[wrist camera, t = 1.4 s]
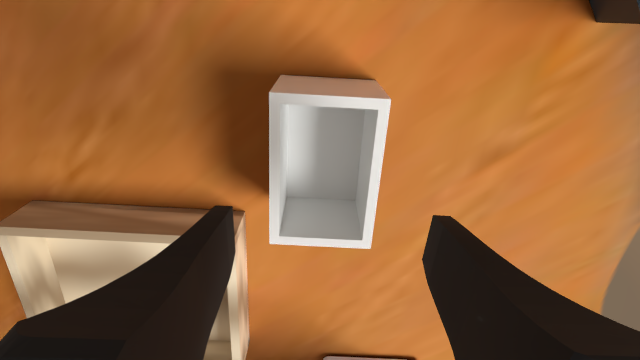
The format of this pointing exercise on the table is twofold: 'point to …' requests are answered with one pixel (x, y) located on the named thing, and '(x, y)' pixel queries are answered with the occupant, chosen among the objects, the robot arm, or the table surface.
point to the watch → (616, 11)
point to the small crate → (325, 160)
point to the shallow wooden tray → (112, 258)
